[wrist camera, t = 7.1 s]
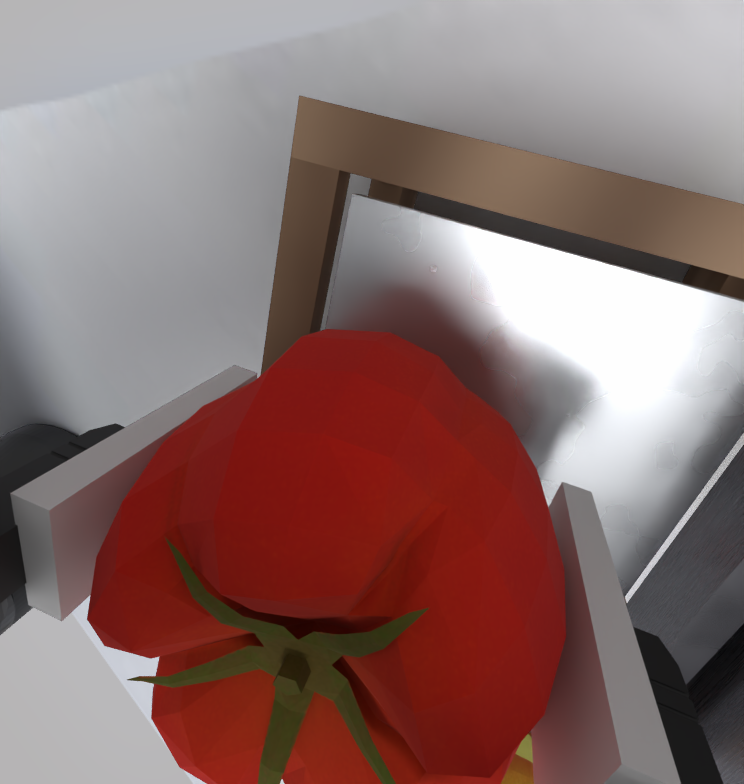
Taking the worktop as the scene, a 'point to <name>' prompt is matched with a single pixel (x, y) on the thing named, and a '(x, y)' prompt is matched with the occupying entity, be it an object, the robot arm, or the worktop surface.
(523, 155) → the frame
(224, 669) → the tomato
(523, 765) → the cheeseburger
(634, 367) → the trapdoor
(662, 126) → the worktop surface
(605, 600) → the robot arm
